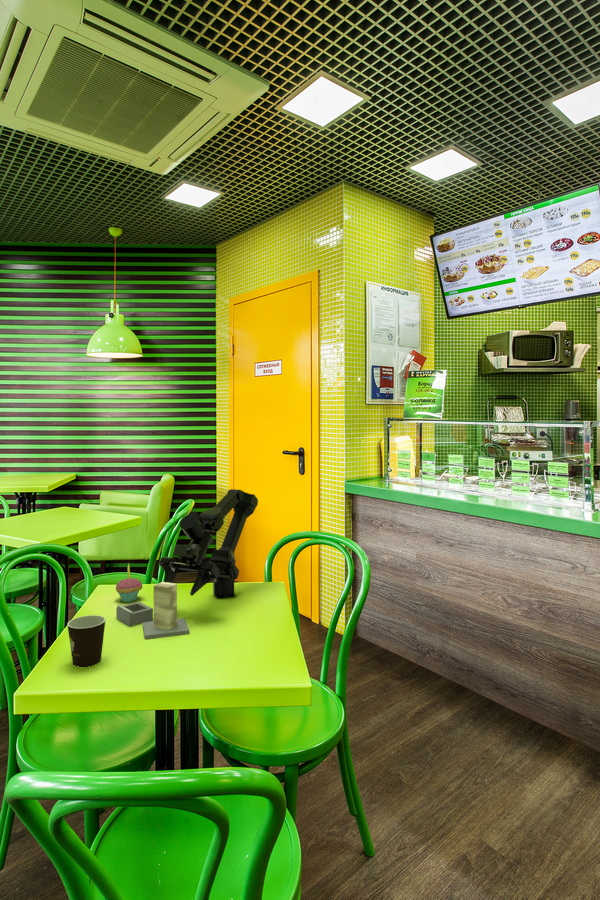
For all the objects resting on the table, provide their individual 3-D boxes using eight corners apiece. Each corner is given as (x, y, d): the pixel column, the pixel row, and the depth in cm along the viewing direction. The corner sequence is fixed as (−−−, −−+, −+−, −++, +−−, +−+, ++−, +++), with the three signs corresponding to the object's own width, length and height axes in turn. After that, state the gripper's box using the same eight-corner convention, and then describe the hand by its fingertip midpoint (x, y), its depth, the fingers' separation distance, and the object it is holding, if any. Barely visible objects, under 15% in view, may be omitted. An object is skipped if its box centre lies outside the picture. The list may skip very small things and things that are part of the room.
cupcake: (114, 597, 175) (114, 562, 174) (140, 594, 178) (140, 560, 178) (117, 605, 167) (116, 568, 167) (144, 602, 171) (144, 566, 170)
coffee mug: (104, 667, 124) (104, 626, 124) (65, 671, 122) (64, 630, 121) (107, 647, 135) (107, 609, 135) (72, 651, 133) (71, 612, 133)
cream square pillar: (162, 622, 150) (162, 581, 150) (176, 625, 148) (176, 583, 148) (153, 627, 147) (153, 585, 146) (168, 630, 145) (168, 587, 144)
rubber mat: (184, 621, 154) (184, 617, 154) (189, 633, 145) (189, 630, 145) (142, 625, 150) (142, 622, 150) (144, 639, 141) (144, 635, 141)
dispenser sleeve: (139, 612, 161) (139, 599, 161) (152, 620, 155) (152, 605, 155) (116, 618, 156) (116, 604, 155) (129, 626, 150) (129, 611, 149)
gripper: (161, 530, 160) (139, 575, 151) (214, 535, 154) (194, 583, 144) (176, 550, 168) (156, 594, 158) (227, 555, 161) (209, 602, 152)
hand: (177, 593), depth 153 cm, fingers open, 9 cm apart
